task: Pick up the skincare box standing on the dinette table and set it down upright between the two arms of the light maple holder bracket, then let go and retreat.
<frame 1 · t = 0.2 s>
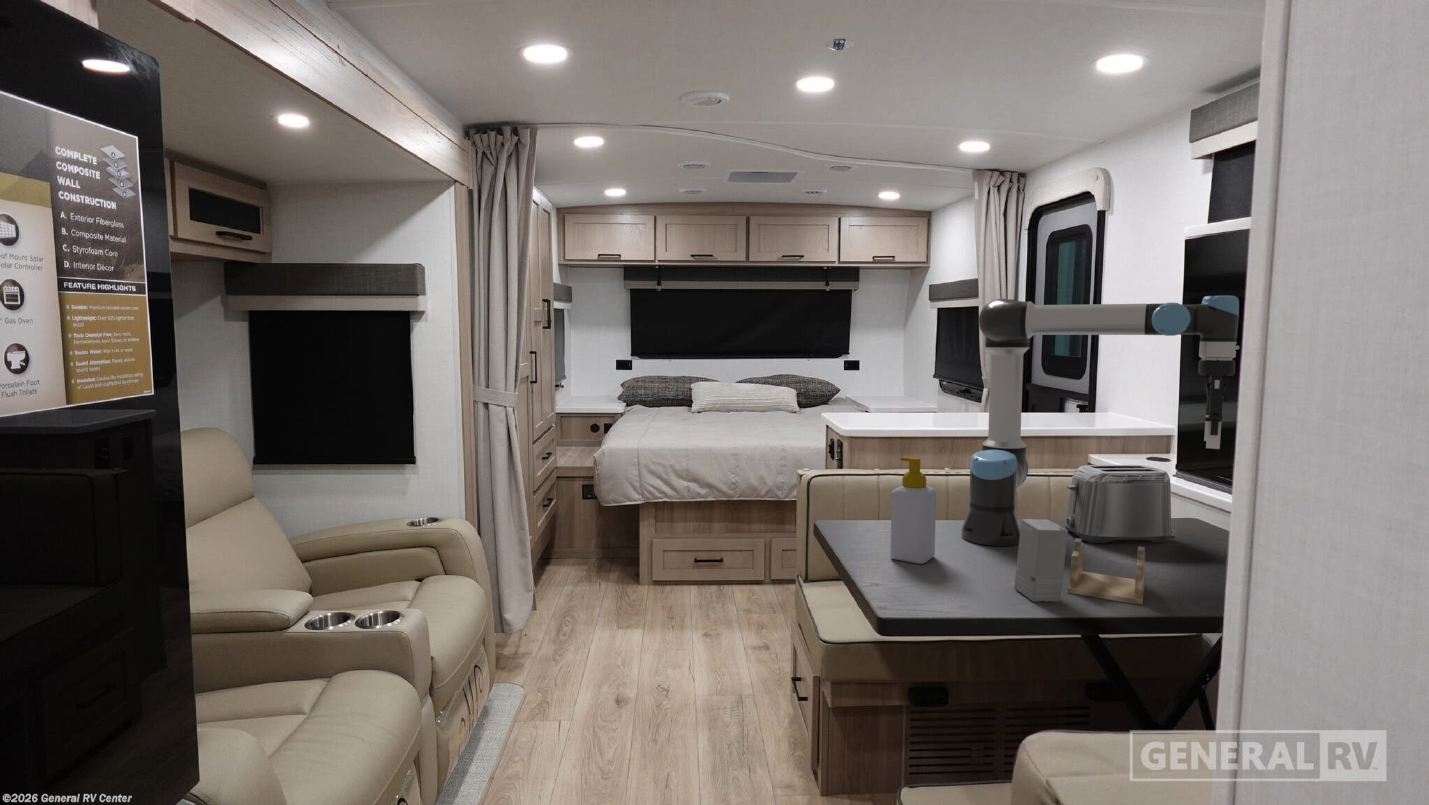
hand: (1211, 444, 187), 28 cm above the table, fingers open, 13 cm apart
skincare box: (1039, 596, 161), on the table
toaster: (1121, 538, 205), on the table
holder: (1106, 588, 164), on the table
soap bottle: (912, 558, 187), on the table
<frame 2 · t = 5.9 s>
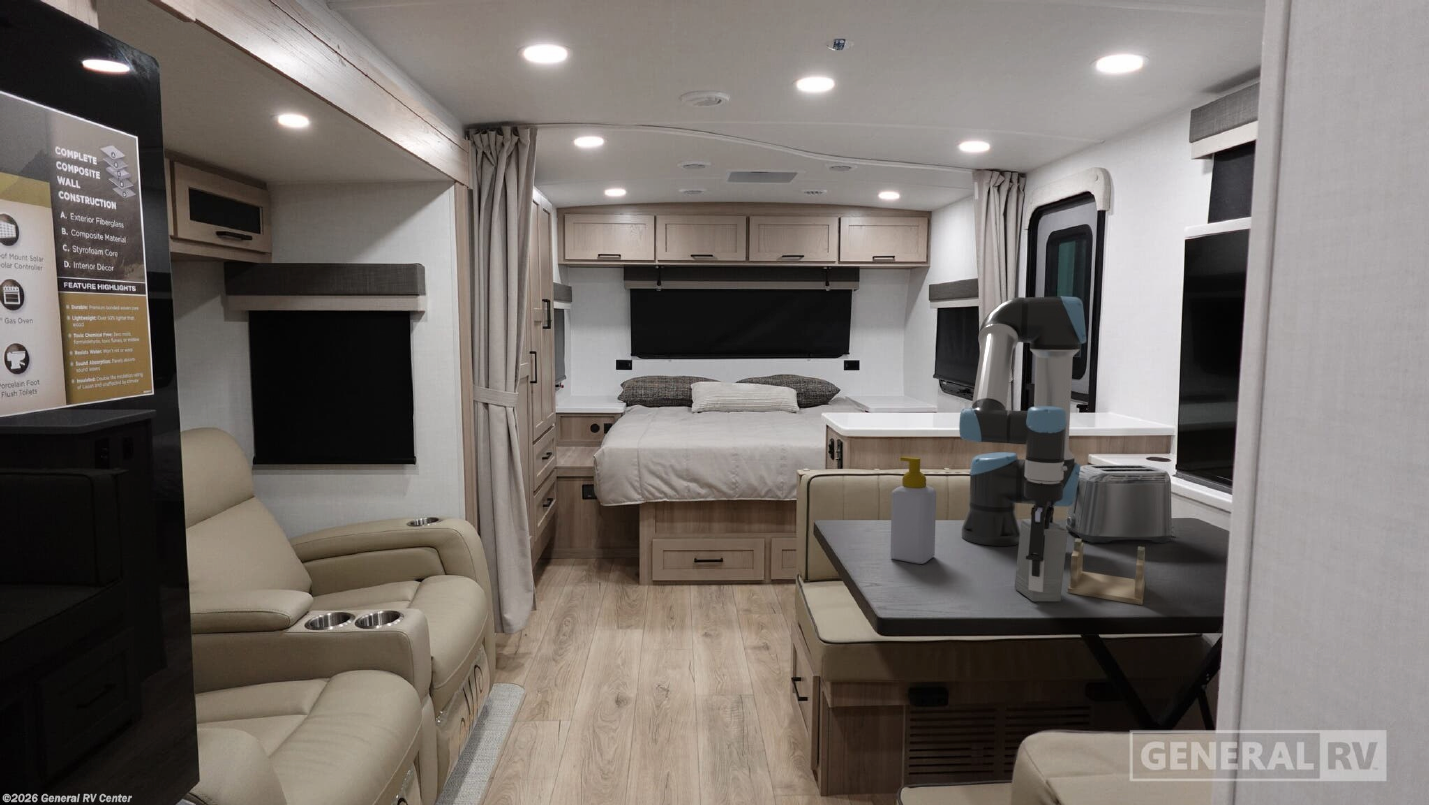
hand: (1039, 583, 160), 3 cm above the table, fingers closed on skincare box, 10 cm apart
skincare box: (1039, 596, 161), on the table, touching gripper
everything else where it was.
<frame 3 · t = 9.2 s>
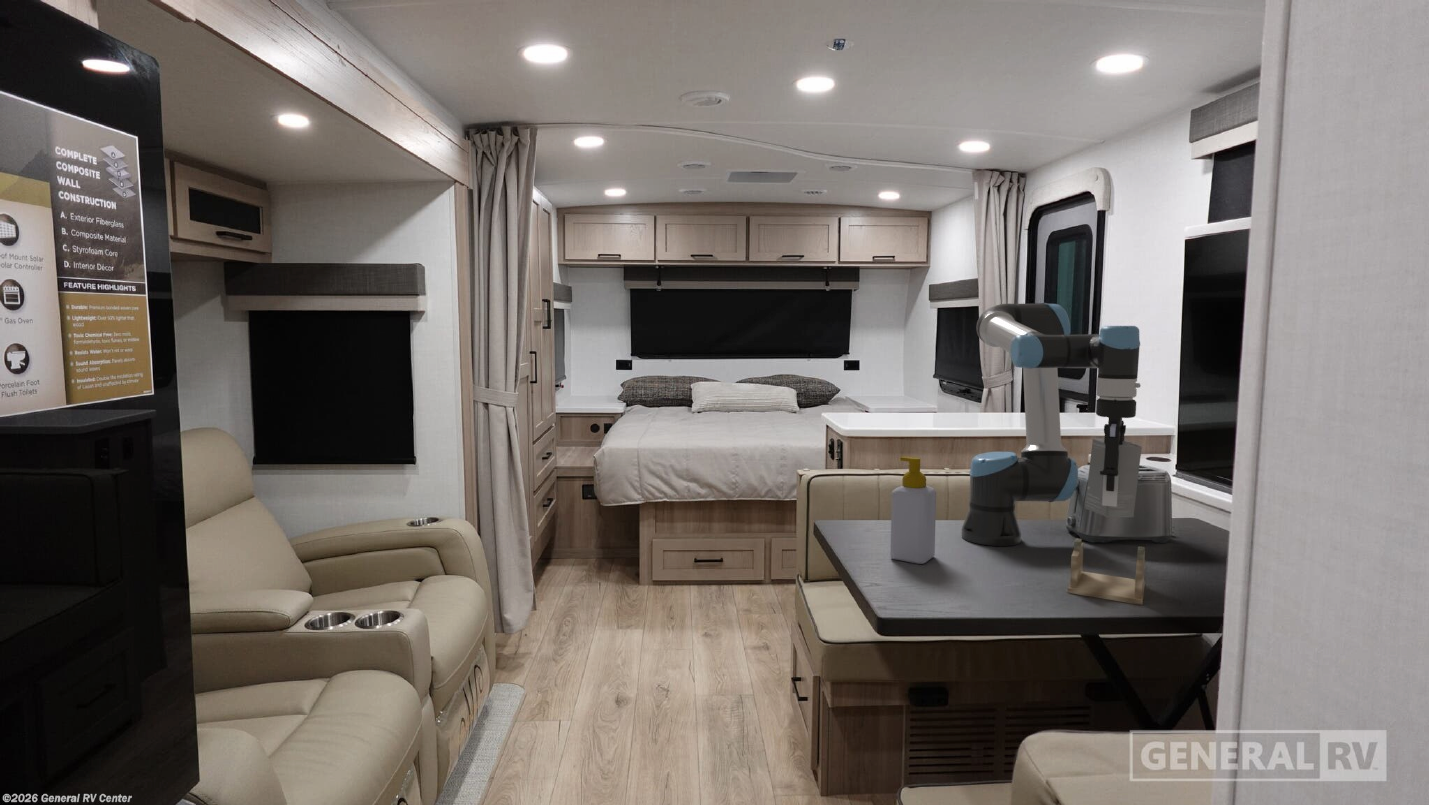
hand: (1111, 500, 162), 20 cm above the table, fingers closed on skincare box, 10 cm apart
skincare box: (1110, 514, 163), point 17 cm above the table, touching gripper
everything else where it was.
when the fingers open (6 cm above the table, at t = 12.5 s): skincare box drops 2 cm, resting on holder.
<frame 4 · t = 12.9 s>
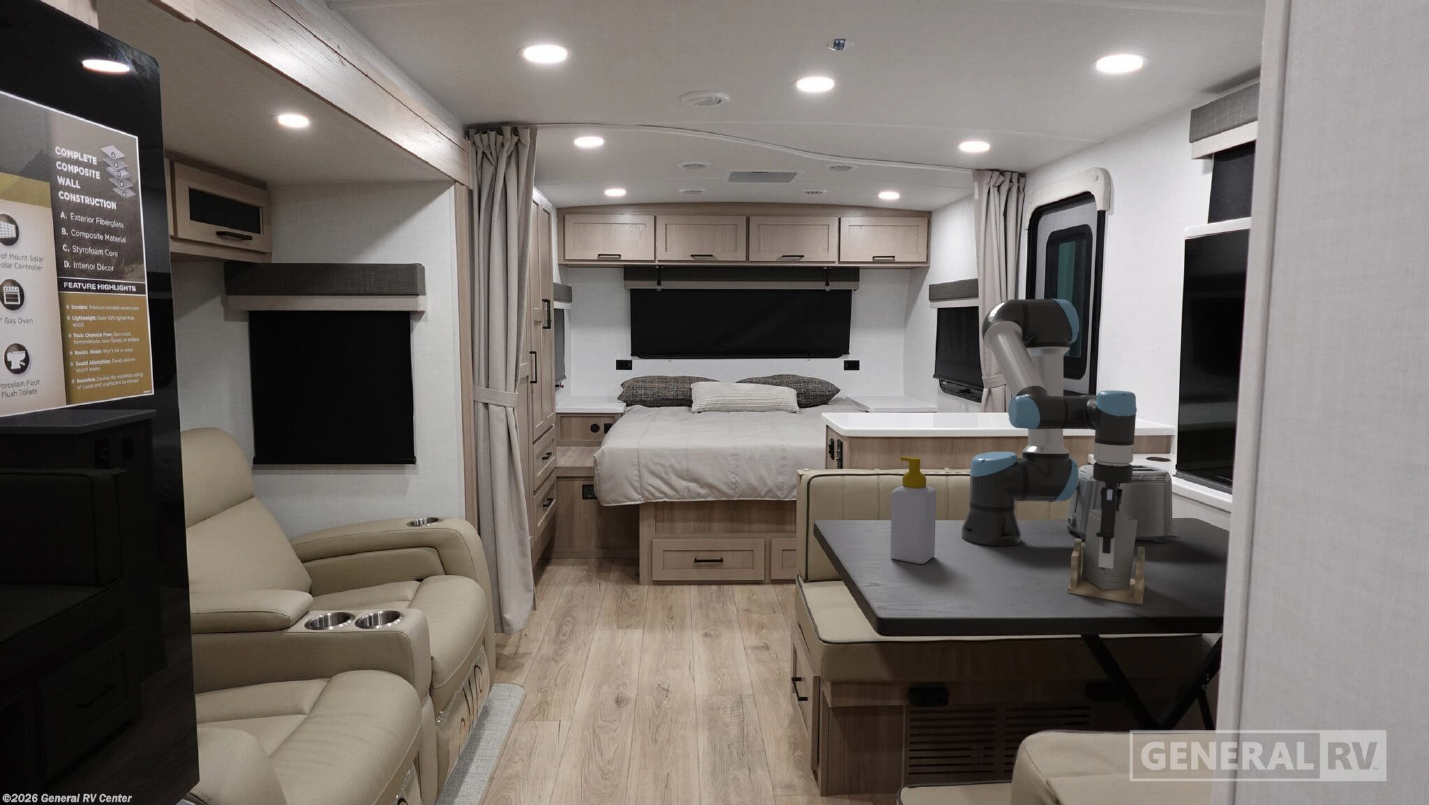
hand: (1108, 559, 164), 7 cm above the table, fingers open, 13 cm apart
skincare box: (1107, 585, 165), point 1 cm above the table, touching holder
everything else where it was.
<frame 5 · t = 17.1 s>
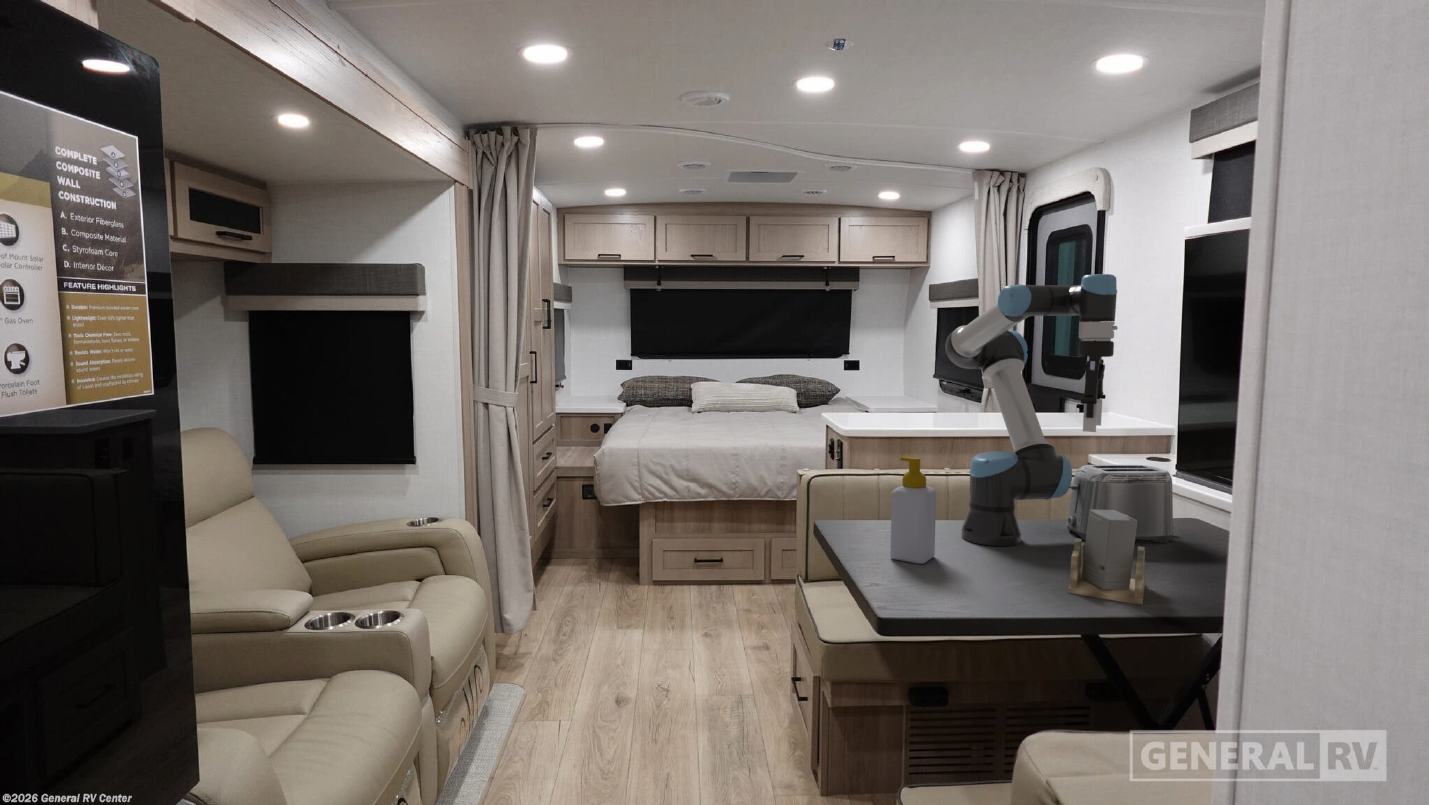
hand: (1092, 428, 181), 33 cm above the table, fingers open, 13 cm apart
nothing on the table moved.
at the end: skincare box inside the target area on the holder (0.2 cm from its centre), point 0.8 cm above the holder's base; skincare box tilted 0°; the gripper is holding nothing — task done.
